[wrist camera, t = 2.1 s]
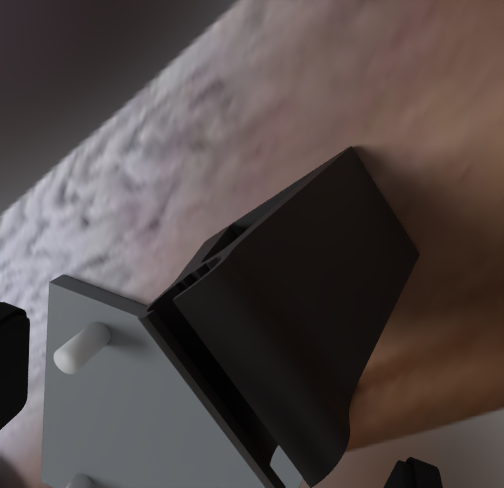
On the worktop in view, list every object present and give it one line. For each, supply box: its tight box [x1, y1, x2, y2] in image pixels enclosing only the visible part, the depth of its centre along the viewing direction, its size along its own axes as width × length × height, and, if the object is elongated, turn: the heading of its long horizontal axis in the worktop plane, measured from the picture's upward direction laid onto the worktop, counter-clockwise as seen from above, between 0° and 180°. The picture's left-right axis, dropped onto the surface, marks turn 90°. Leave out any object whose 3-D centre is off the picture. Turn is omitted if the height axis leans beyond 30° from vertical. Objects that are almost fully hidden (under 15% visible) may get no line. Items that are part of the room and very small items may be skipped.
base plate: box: [41, 275, 303, 488], centre depth 26 cm, size 18×18×4 cm
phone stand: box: [138, 146, 420, 488], centre depth 16 cm, size 9×6×12 cm, turn 126°
